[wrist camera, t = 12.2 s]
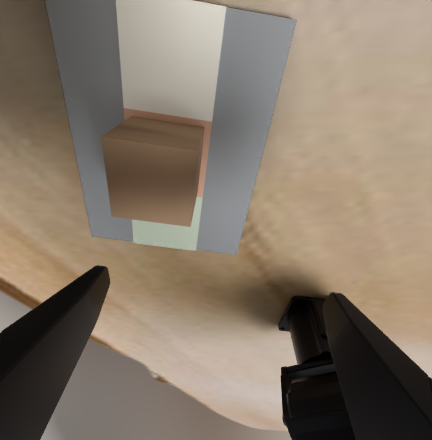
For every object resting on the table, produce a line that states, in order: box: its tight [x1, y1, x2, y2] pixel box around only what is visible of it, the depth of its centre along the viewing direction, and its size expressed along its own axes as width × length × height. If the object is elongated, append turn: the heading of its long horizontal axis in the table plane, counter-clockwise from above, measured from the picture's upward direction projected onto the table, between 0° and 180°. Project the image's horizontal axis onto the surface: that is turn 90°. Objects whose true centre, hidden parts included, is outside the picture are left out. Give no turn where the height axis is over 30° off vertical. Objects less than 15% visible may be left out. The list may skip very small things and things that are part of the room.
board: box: [45, 0, 297, 255], centre depth 18 cm, size 18×14×1 cm
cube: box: [101, 116, 205, 227], centre depth 16 cm, size 5×5×5 cm
